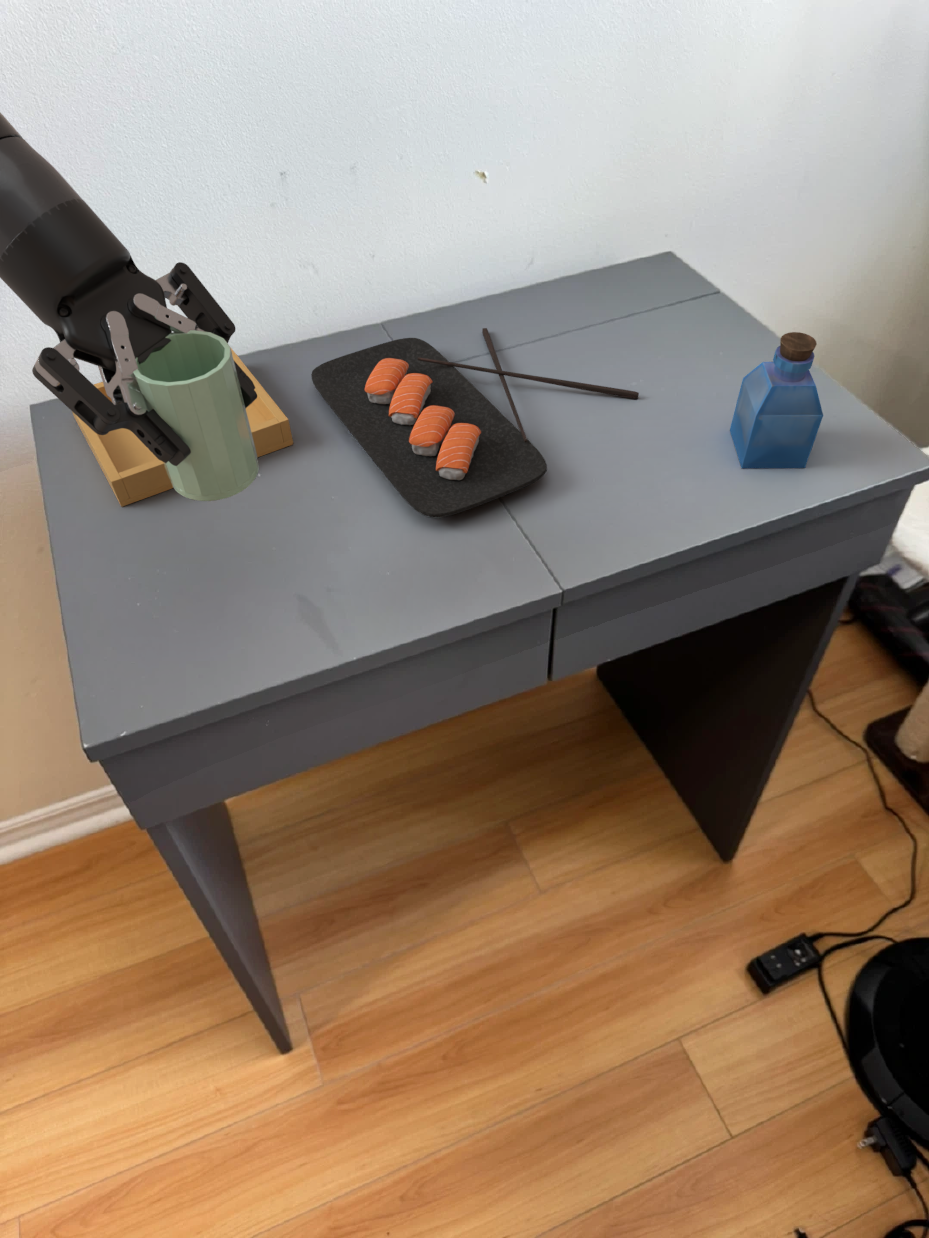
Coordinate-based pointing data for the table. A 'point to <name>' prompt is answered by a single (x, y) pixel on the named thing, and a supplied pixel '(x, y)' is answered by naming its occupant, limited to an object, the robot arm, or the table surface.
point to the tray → (146, 475)
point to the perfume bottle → (778, 408)
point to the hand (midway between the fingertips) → (217, 430)
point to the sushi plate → (434, 424)
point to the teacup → (201, 414)
